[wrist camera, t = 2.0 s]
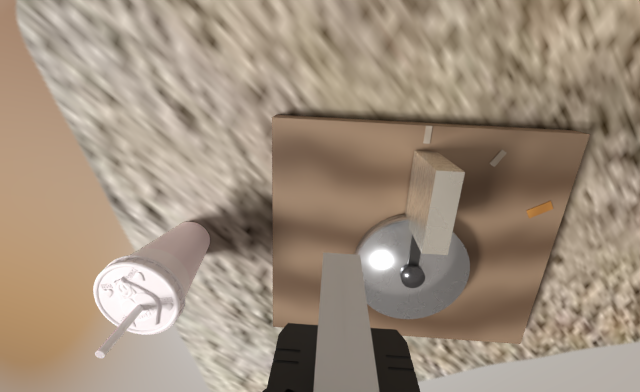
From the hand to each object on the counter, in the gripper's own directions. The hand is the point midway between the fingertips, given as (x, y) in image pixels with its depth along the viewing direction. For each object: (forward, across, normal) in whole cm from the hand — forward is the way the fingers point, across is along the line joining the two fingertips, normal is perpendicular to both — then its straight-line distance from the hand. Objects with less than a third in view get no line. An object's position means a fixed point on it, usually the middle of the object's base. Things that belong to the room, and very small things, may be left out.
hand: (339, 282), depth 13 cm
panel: (+17, +7, -6) cm, 19 cm away
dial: (+15, +7, -5) cm, 17 cm away
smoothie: (+17, -14, -8) cm, 23 cm away
